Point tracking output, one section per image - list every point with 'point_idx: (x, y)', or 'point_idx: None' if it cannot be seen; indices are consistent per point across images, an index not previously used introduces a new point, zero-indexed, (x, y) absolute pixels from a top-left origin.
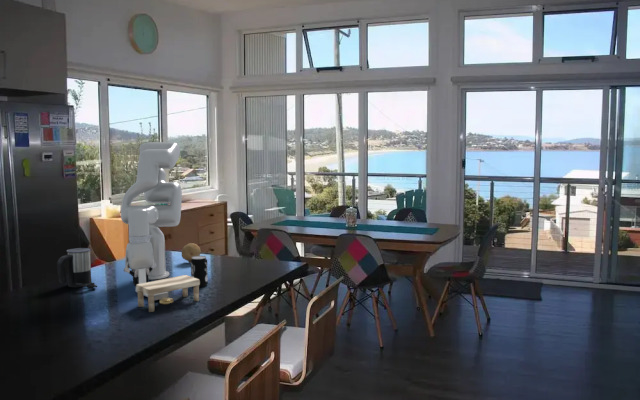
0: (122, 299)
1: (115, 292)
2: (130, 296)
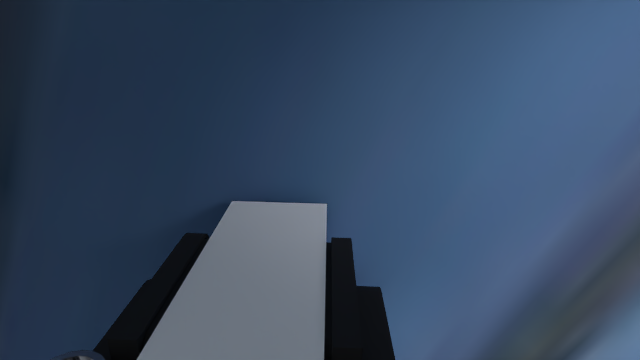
0: (33, 346)
1: (9, 54)
2: None
